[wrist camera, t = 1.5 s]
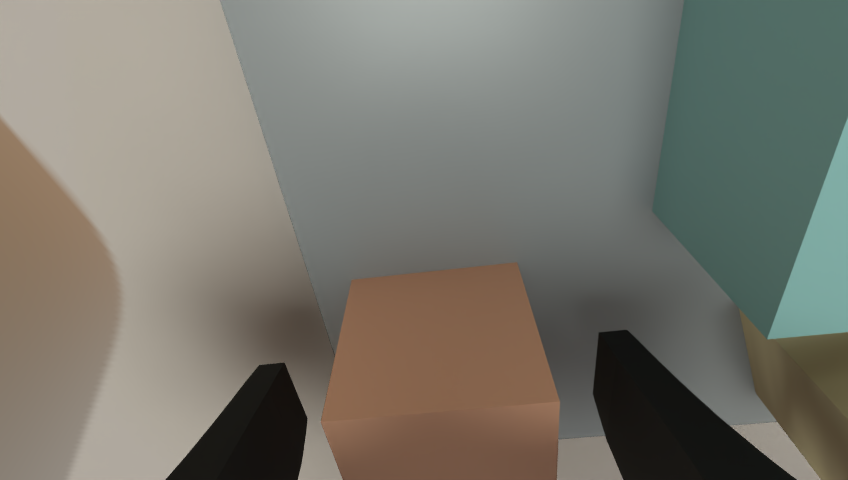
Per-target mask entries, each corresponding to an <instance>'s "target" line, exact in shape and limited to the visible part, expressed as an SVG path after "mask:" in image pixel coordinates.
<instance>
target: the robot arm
mask: <svg viewBox="0 0 848 480" xmlns="http://www.w3.org/2000/svg"><path fill="white" fill-rule="evenodd" d="M593 397H594V400H595V403H596V407H597V410H598V414H599V417H600V420H601V424H602V427H603V430H604V433H605V436H606V439H607V442H608V444H609V447H610V449H611V451H612V454H613V456H614V458H615V461H616V463H617V465H618V468H619V470H620V473H621V475H622V477H623V480H796V479H795V478H794V477H792V476H791V475H790V474H788V473H787V472H786V471H785V470H783V469H782V468H781V467H779V466H778V465H777V464H776V463H774V462H773V461H772V460H770V459H769V458H768V457H767V456H765V455H764V454H763V453H762V452H760V451H759V450H758V449H757V448H756V447H754V446H753V445H752V444H751V443H750V442H748V441H747V440H746V439H745V438H744V437H742V436H741V435H740V434H739V433H738V432H736V431H735V430H734V429H733V428H732V427H730V426H729V425H728V424H727V423H726V422H725V421H723V420H722V419H721V418H720V417H719V416H718V415H717V414H715V413H714V412H713V411H712V410H711V409H710V408H709V407H708V406H707V405H705V404H704V403H703V402H702V401H701V400H700V399H699V398H698V397H697V396H696V395H694V394H693V393H692V392H691V391H690V390H689V389H688V388H687V387H686V386H685V385H684V384H683V383H681V382H680V381H679V380H678V379H677V378H676V377H675V376H674V375H673V374H672V373H671V372H670V371H669V370H668V369H667V368H666V367H665V366H664V365H663V364H662V363H661V362H660V361H659V360H658V359H657V358H656V357H655V356H654V355H652V354H651V353H650V352H649V351H648V350H647V349H646V348H645V347H644V346H643V345H642V344H641V343H640V342H639V341H638V340H637V339H636V338H635V337H634V336H633V335H632V334H631V333H630V332H629V331H628V330H618V331H608V332H599V335H598V345H597V355H596V365H595V375H594V385H593ZM306 427H307V416H306V414H305V411H304V409H303V407H302V404H301V402H300V399H299V397H298V394H297V392H296V390H295V387H294V385H293V382H292V380H291V377H290V375H289V373H288V370H287V368H286V365H285V363H276V364H266V365H259V366H258V367H257V369H256V370H255V371H254V372H253V373H252V375H251V376H250V377H249V378H248V380H247V381H246V382H245V383H244V385H243V386H242V387H241V388H240V390H239V391H238V392H237V394H236V395H235V396H234V397H233V399H232V400H231V401H230V402H229V404H228V405H227V406H226V408H225V409H224V410H223V411H222V413H221V414H220V415H219V416H218V418H217V419H216V420H215V421H214V423H213V424H212V425H211V426H210V428H209V429H208V430H207V431H206V432H205V434H204V435H203V436H202V437H201V439H200V440H199V441H198V442H197V444H196V445H195V446H194V447H193V448H192V450H191V451H190V452H189V453H188V454H187V456H186V457H185V458H184V459H183V460H182V461H181V463H180V464H179V465H178V466H177V467H176V468H175V469H174V471H173V472H172V473H171V474H170V475H169V476H168V477H167V478H166V480H298V476H299V472H300V468H301V463H302V457H303V450H304V443H305V435H306Z"/></svg>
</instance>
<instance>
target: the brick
mask: <svg viewBox="0 0 848 480" xmlns="http://www.w3.org/2000/svg"><path fill="white" fill-rule="evenodd" d="M739 312H740V317H741V322H742V327H743V332H744V337H745V342H746V347H747V352H748V357H749V362H750V367H751V372H752V377H753V382H754V387H755V392H756V394H757V396H758V397H759V398H760V400H761V401H762V402H763V403H764V405H765V406H766V407H767V409H768V410H769V411H770V413H771V414H772V415H773V417H774V418H775V419H776V421H777V422H778V423H779V425H780V426H781V427H782V428H783V430H784V431H785V432H786V434H787V435H788V436H789V438H790V439H791V440H792V442H793V443H794V444H795V446H796V447H797V448H798V450H799V451H800V452H801V454H802V455H803V456H804V457H805V459H806V460H807V461H808V463H809V464H810V465H811V467H812V468H813V469H814V471H815V472H816V473H817V475H818V476H819V477H820V479H821V480H848V332H843V333H832V334H821V335H810V336H799V337H788V338H777V339H766V338H765V337H764V336H763V334H762V333H761V332H760V331H759V330H758V329H757V328H756V327H755V325H754V324H753V323H752V322H751V321H750V320H749V319H748V318H747V317H746V315H745V314H744V313H743V312H742V311H741V310H740V309H739Z"/></svg>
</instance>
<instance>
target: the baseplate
mask: <svg viewBox="0 0 848 480" xmlns="http://www.w3.org/2000/svg"><path fill="white" fill-rule="evenodd" d="M220 2H221V5H222V8H223V11H224V14H225V17H226V20H227V24H228V27H229V30H230V33H231V36H232V39H233V42H234V45H235V48H236V51H237V55H238V58H239V61H240V64H241V67H242V70H243V73H244V76H245V79H246V82H247V86H248V89H249V92H250V95H251V98H252V101H253V104H254V107H255V110H256V113H257V117H258V120H259V123H260V126H261V129H262V132H263V135H264V138H265V141H266V144H267V147H268V151H269V154H270V157H271V160H272V163H273V166H274V169H275V172H276V175H277V178H278V182H279V185H280V188H281V191H282V194H283V197H284V200H285V203H286V206H287V209H288V213H289V216H290V219H291V222H292V225H293V228H294V231H295V234H296V237H297V240H298V244H299V247H300V250H301V253H302V256H303V259H304V262H305V265H306V268H307V271H308V274H309V278H310V281H311V284H312V287H313V290H314V293H315V296H316V299H317V302H318V305H319V309H320V312H321V315H322V318H323V321H324V324H325V327H326V330H327V333H328V336H329V340H330V343H331V346H332V349H333V352H334V355H335V354H336V350H337V345H338V340H339V336H340V331H341V327H342V322H343V317H344V313H345V308H346V304H347V299H348V294H349V290H350V285H351V281H352V280H354V279H363V278H373V277H382V276H392V275H401V274H410V273H420V272H429V271H439V270H448V269H458V268H467V267H477V266H486V265H495V264H505V263H514V262H517V264H518V267H519V270H520V273H521V277H522V280H523V283H524V286H525V290H526V293H527V296H528V299H529V303H530V306H531V309H532V312H533V316H534V319H535V322H536V325H537V329H538V332H539V335H540V338H541V342H542V345H543V348H544V351H545V355H546V358H547V361H548V364H549V368H550V371H551V374H552V377H553V381H554V384H555V387H556V390H557V394H558V397H559V400H560V411H559V435H558V439H569V438H581V437H594V436H605V433H604V430H603V427H602V424H601V420H600V417H599V414H598V410H597V407H596V403H595V400H594V397H593V385H594V375H595V365H596V355H597V345H598V335H599V332H608V331H618V330H628V331H629V332H630V333H631V334H632V335H633V336H634V337H635V338H636V339H637V340H638V341H639V342H640V343H641V344H642V345H643V346H644V347H645V348H646V349H647V350H648V351H649V352H650V353H651V354H652V355H654V356H655V357H656V358H657V359H658V360H659V361H660V362H661V363H662V364H663V365H664V366H665V367H666V368H667V369H668V370H669V371H670V372H671V373H672V374H673V375H674V376H675V377H676V378H677V379H678V380H679V381H680V382H681V383H683V384H684V385H685V386H686V387H687V388H688V389H689V390H690V391H691V392H692V393H693V394H694V395H696V396H697V397H698V398H699V399H700V400H701V401H702V402H703V403H704V404H705V405H707V406H708V407H709V408H710V409H711V410H712V411H713V412H714V413H715V414H717V415H718V416H719V417H720V418H721V419H722V420H723V421H725V422H726V423H727V424H728V425H729V426H731V425H743V424H755V423H768V422H777V421H776V419H775V418H774V417H773V415H772V414H771V413H770V411H769V410H768V409H767V407H766V406H765V405H764V403H763V402H762V401H761V400H760V398H759V397H758V396H757V394H756V392H755V387H754V382H753V377H752V372H751V367H750V362H749V357H748V352H747V347H746V342H745V337H744V332H743V327H742V322H741V317H740V312H739V308H738V306H737V305H736V304H735V303H734V302H733V301H732V300H731V299H730V298H729V296H728V295H727V294H726V293H725V292H724V291H723V290H722V289H721V287H720V286H719V285H718V284H717V283H716V282H715V281H714V280H713V279H712V277H711V276H710V275H709V274H708V273H707V272H706V271H705V270H704V268H703V267H702V266H701V265H700V264H699V263H698V262H697V261H696V260H695V258H694V257H693V256H692V255H691V254H690V253H689V252H688V251H687V249H686V248H685V247H684V246H683V245H682V244H681V243H680V242H679V241H678V239H677V238H676V237H675V236H674V235H673V234H672V233H671V232H670V230H669V229H668V228H667V227H666V226H665V225H664V224H663V223H662V222H661V220H660V219H659V218H658V217H657V216H656V215H655V214H654V213H653V211H652V208H653V202H654V195H655V189H656V182H657V175H658V169H659V162H660V156H661V149H662V143H663V136H664V130H665V123H666V116H667V110H668V103H669V97H670V90H671V84H672V77H673V70H674V64H675V57H676V51H677V44H678V38H679V31H680V25H681V18H682V11H683V5H684V0H220Z"/></svg>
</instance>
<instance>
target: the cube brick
mask: <svg viewBox="0 0 848 480" xmlns="http://www.w3.org/2000/svg"><path fill="white" fill-rule="evenodd" d="M559 411H560V400H559V397H558V394H557V390H556V387H555V384H554V381H553V377H552V374H551V371H550V368H549V364H548V361H547V358H546V355H545V351H544V348H543V345H542V342H541V338H540V335H539V332H538V329H537V325H536V322H535V319H534V316H533V312H532V309H531V306H530V303H529V299H528V296H527V293H526V290H525V286H524V283H523V280H522V277H521V273H520V270H519V267H518V264H517V262H514V263H505V264H495V265H486V266H477V267H467V268H458V269H448V270H439V271H429V272H420V273H410V274H401V275H392V276H382V277H373V278H363V279H354V280H352V281H351V285H350V290H349V294H348V299H347V304H346V308H345V313H344V317H343V322H342V327H341V331H340V336H339V340H338V345H337V350H336V354H335V359H334V363H333V368H332V373H331V377H330V382H329V386H328V391H327V396H326V400H325V405H324V409H323V414H322V419H321V424H322V427H323V429H324V432H325V434H326V437H327V439H328V442H329V445H330V447H331V450H332V452H333V455H334V458H335V460H336V463H337V465H338V468H339V471H340V473H341V476H342V478H343V480H557V458H558V435H559Z"/></svg>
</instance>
